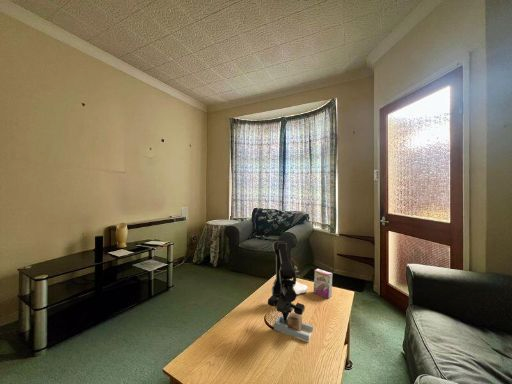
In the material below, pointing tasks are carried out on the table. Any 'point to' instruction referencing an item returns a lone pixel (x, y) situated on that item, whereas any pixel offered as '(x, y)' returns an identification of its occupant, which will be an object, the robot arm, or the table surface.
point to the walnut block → (295, 321)
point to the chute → (283, 327)
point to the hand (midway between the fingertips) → (285, 320)
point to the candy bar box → (323, 283)
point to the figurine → (299, 285)
